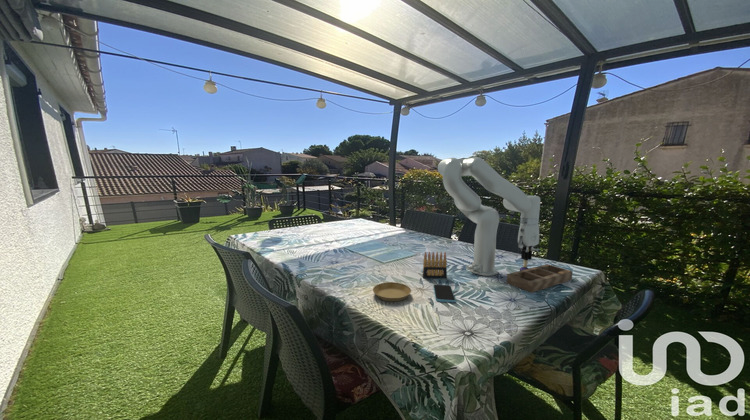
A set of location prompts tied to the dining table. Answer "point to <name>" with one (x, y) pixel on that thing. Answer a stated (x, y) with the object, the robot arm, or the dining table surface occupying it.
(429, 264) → the ammunition clip
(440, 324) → the dining table surface
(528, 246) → the toy lamp
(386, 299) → the plant saucer
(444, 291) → the smartphone
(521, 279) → the tray
